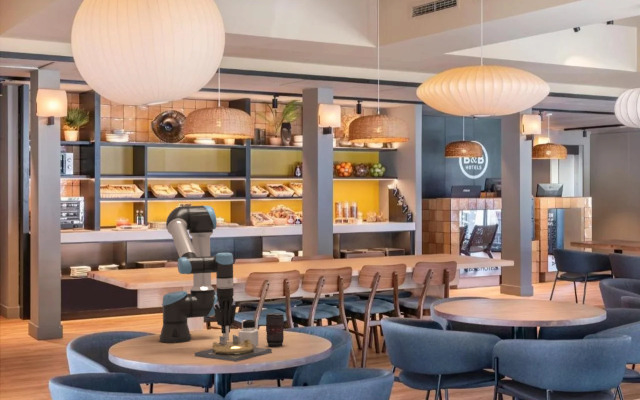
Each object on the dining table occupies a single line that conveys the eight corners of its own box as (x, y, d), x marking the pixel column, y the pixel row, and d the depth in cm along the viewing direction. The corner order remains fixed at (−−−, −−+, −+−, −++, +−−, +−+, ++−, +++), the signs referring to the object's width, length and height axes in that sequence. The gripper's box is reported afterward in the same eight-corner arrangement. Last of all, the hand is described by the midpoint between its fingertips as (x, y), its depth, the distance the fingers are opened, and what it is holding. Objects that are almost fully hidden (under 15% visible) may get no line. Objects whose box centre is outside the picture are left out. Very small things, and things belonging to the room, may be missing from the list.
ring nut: (259, 351, 400) (259, 339, 400) (220, 355, 393) (220, 342, 393) (245, 345, 417) (245, 333, 417) (207, 348, 409) (207, 336, 409)
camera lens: (281, 347, 420) (281, 315, 419) (264, 347, 421) (264, 314, 421) (285, 344, 427) (285, 312, 427) (269, 344, 429) (268, 312, 429)
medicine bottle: (258, 344, 428) (258, 319, 428) (252, 347, 421) (252, 321, 421) (244, 344, 430) (244, 318, 430) (238, 346, 424) (238, 320, 423)
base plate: (194, 355, 402) (194, 352, 402) (230, 347, 422) (230, 343, 422) (236, 361, 388) (236, 357, 388) (271, 352, 408) (271, 348, 408)
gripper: (218, 289, 402) (219, 343, 402) (241, 286, 411) (242, 339, 411) (208, 288, 407) (209, 341, 407) (231, 285, 416) (232, 337, 417)
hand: (225, 340), depth 409 cm, fingers closed
